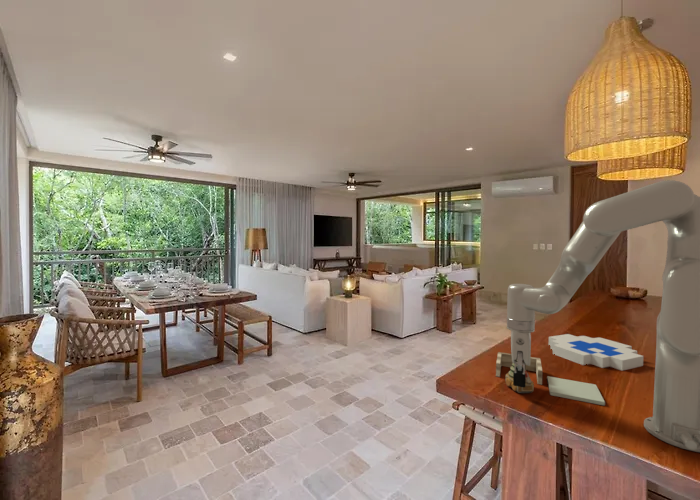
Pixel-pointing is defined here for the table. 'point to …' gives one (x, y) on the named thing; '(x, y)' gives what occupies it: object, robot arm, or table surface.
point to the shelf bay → (535, 365)
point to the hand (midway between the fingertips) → (519, 380)
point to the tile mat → (575, 390)
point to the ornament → (509, 382)
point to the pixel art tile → (595, 351)
